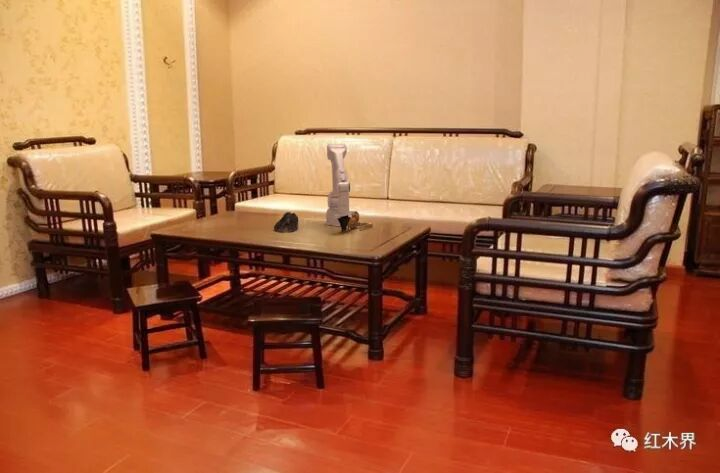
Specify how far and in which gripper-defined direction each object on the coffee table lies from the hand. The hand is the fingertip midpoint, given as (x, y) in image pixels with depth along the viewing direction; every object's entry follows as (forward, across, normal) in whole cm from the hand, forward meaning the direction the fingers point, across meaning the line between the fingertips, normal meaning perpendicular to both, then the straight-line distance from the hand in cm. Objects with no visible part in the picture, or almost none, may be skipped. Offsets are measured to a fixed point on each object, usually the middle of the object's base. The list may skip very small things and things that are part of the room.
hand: (343, 230), depth 301 cm
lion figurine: (+1, +8, +2) cm, 8 cm away
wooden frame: (+1, +13, 0) cm, 13 cm away
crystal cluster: (+1, -13, +28) cm, 31 cm away
